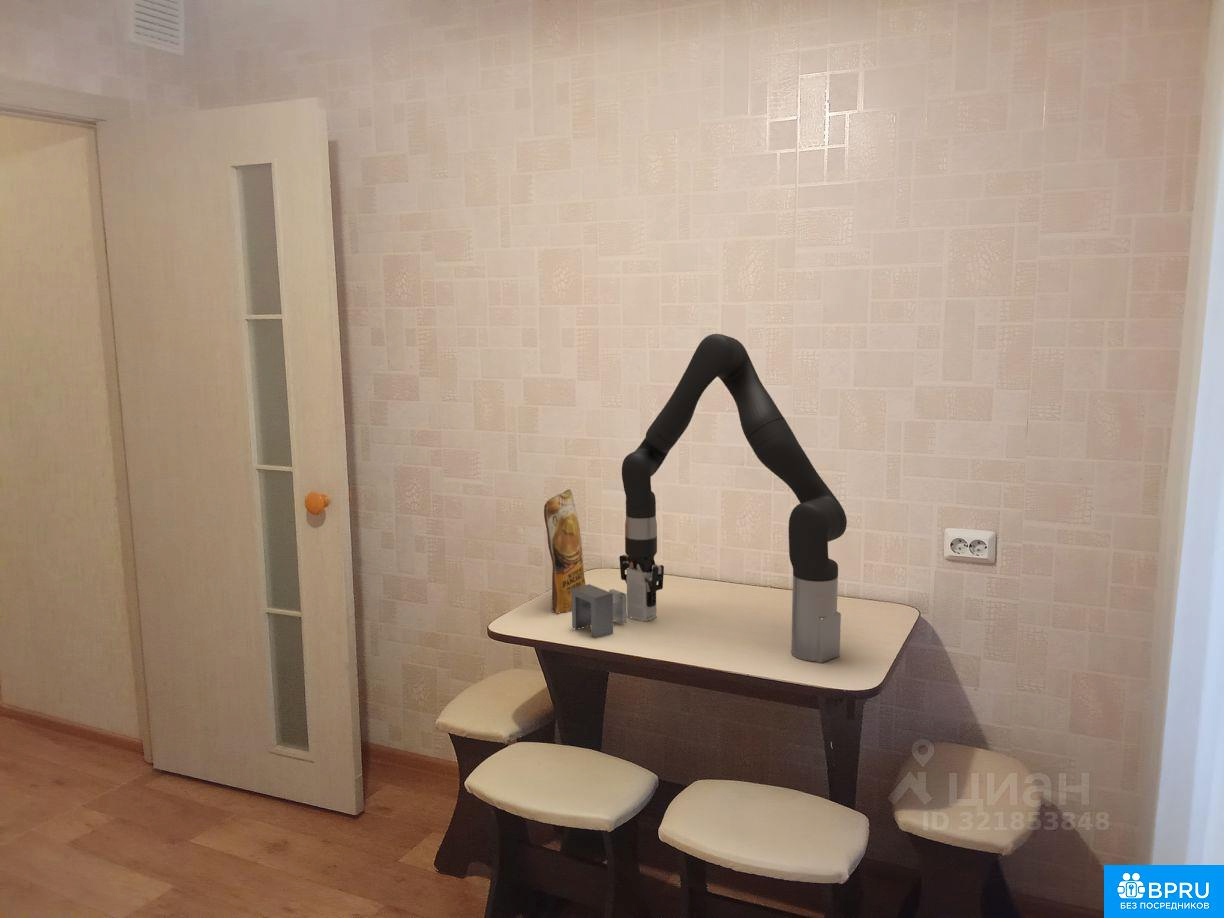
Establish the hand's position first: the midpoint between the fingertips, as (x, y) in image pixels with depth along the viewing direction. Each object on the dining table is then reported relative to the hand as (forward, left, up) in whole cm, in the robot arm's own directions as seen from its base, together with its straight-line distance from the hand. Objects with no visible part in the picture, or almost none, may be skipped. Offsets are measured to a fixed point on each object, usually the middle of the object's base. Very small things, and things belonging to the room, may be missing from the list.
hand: (641, 602), depth 218 cm
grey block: (+2, +9, -3) cm, 10 cm away
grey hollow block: (+2, +11, -4) cm, 12 cm away
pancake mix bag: (+19, +8, -4) cm, 21 cm away
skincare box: (0, 0, -4) cm, 4 cm away
